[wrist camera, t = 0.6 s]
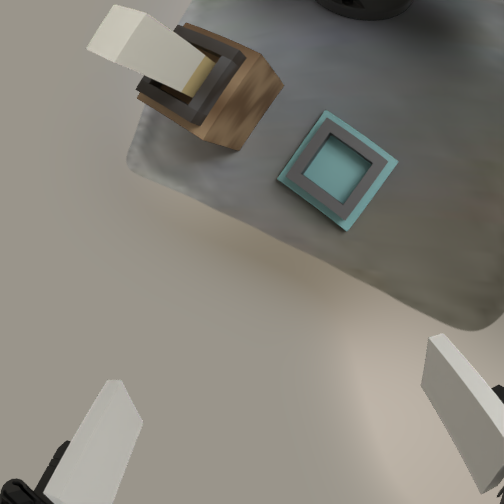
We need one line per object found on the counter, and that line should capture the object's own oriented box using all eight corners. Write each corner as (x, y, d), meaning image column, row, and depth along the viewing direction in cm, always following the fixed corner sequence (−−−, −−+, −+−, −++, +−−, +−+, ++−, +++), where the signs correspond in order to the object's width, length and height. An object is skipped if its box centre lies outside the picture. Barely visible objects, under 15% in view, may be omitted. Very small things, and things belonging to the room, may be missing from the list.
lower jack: (326, 111, 33) (324, 105, 30) (397, 162, 32) (401, 159, 29) (278, 179, 36) (272, 178, 34) (347, 230, 35) (346, 234, 32)
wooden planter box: (222, 53, 35) (176, 15, 24) (284, 85, 34) (254, 45, 23) (181, 114, 39) (125, 94, 27) (239, 150, 37) (192, 137, 26)
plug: (189, 52, 26) (114, 4, 15) (219, 66, 26) (146, 13, 15) (169, 84, 28) (85, 49, 17) (196, 99, 27) (114, 62, 16)
